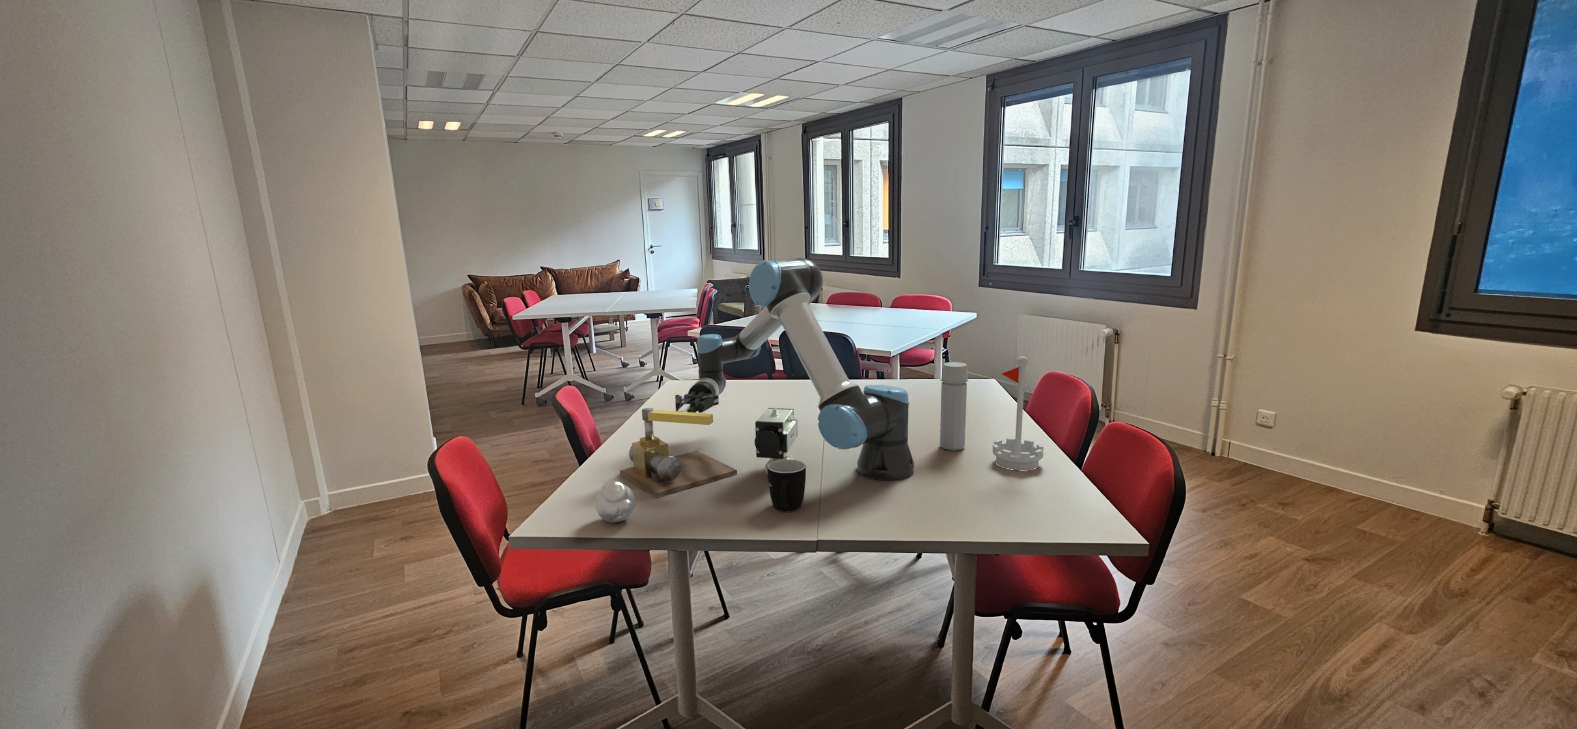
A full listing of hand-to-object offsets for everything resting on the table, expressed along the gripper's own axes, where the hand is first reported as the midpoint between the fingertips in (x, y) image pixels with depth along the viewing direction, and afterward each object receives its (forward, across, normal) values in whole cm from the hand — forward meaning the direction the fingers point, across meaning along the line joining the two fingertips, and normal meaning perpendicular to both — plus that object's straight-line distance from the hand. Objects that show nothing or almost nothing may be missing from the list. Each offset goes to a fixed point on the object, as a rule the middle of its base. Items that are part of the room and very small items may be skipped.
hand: (680, 415), depth 173 cm
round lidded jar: (+28, +8, -17) cm, 34 cm away
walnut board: (-2, +2, -17) cm, 17 cm away
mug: (+18, -30, -17) cm, 39 cm away
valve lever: (+2, +1, -1) cm, 2 cm away
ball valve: (-5, -25, -17) cm, 30 cm away
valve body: (+2, +7, -16) cm, 17 cm away
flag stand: (-16, -89, -17) cm, 92 cm away
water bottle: (-29, -73, -17) cm, 81 cm away
